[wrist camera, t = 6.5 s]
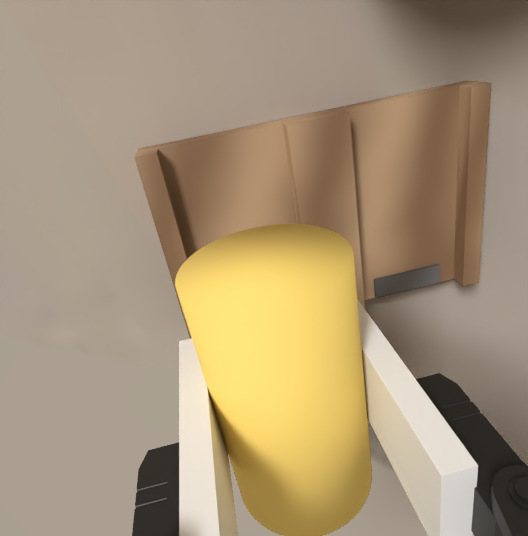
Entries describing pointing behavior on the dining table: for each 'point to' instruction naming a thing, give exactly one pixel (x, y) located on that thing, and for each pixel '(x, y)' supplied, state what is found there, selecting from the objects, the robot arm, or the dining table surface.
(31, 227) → the dining table surface
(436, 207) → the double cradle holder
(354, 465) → the yellow foam roll
